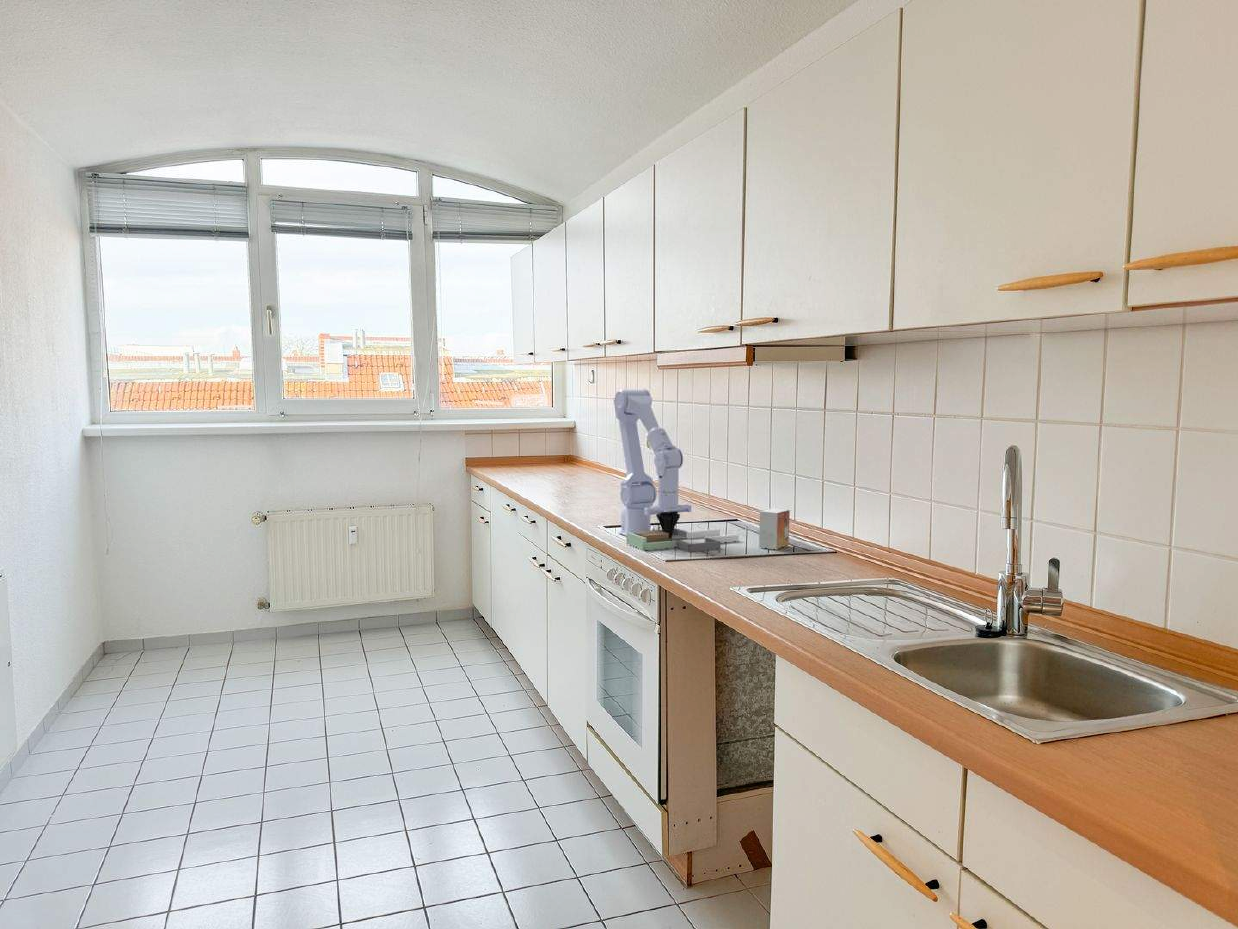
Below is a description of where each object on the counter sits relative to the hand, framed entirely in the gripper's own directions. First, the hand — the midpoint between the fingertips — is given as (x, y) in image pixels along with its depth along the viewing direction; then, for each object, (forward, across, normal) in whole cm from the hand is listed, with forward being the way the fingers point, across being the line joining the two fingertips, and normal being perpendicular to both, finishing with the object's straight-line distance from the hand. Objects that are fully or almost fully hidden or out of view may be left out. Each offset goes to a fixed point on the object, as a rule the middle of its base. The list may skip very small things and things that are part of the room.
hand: (667, 538), depth 240 cm
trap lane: (+2, +5, 0) cm, 5 cm away
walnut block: (+2, -5, 0) cm, 6 cm away
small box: (+2, +25, -16) cm, 30 cm away
